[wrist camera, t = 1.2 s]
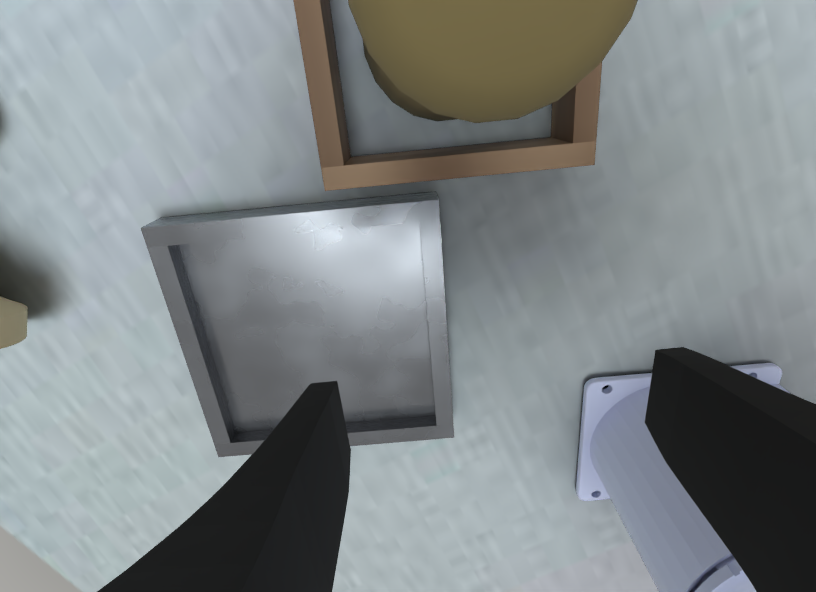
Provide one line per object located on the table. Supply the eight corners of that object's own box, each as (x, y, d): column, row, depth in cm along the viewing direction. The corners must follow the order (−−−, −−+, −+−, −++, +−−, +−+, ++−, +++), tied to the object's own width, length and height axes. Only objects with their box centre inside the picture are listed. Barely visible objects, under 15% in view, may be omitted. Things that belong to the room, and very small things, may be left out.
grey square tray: (435, 191, 19) (438, 199, 17) (450, 416, 23) (454, 437, 22) (160, 217, 19) (140, 228, 18) (229, 434, 24) (218, 456, 22)
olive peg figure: (359, 116, 18) (304, 142, 8) (363, -79, 15) (288, -423, 5) (513, 126, 18) (661, 165, 8) (541, -64, 15) (808, -364, 5)
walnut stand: (586, -157, 14) (621, -204, 12) (570, 156, 18) (594, 164, 16) (287, -123, 15) (266, -164, 12) (334, 178, 18) (325, 190, 16)
